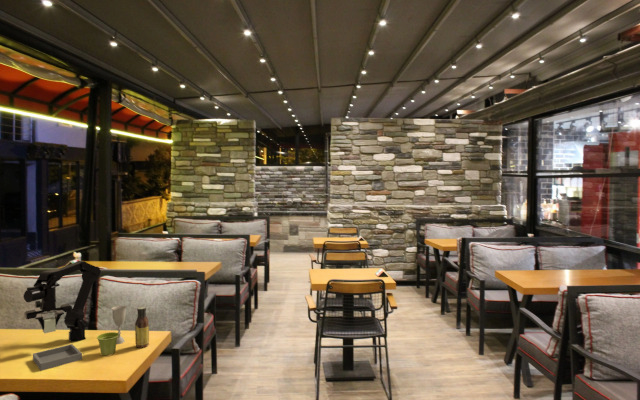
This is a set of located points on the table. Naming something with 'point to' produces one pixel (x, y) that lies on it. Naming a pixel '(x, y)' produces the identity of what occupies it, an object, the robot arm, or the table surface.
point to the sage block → (49, 325)
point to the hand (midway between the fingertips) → (49, 328)
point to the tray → (56, 357)
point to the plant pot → (108, 343)
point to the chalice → (119, 320)
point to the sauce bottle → (141, 328)
